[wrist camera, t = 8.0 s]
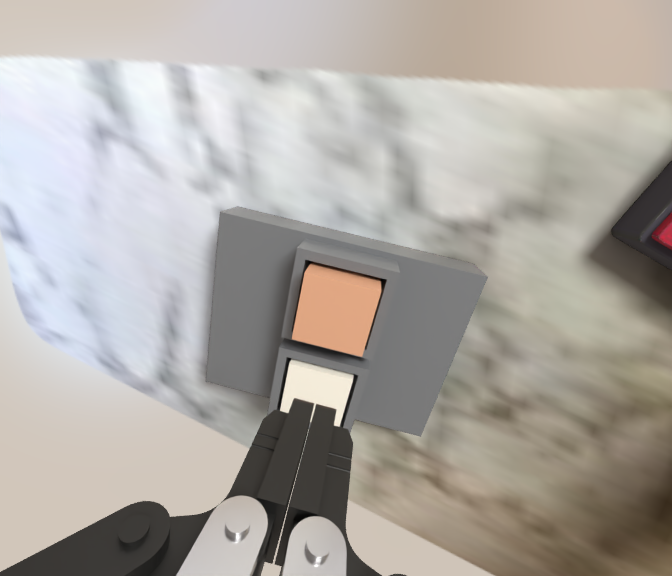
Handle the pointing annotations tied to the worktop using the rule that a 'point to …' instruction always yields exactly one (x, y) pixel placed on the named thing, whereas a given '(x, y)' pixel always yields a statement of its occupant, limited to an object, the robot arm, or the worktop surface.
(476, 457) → the worktop surface
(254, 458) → the robot arm
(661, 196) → the calculator
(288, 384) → the cream key
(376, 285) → the peach key
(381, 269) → the push button base
